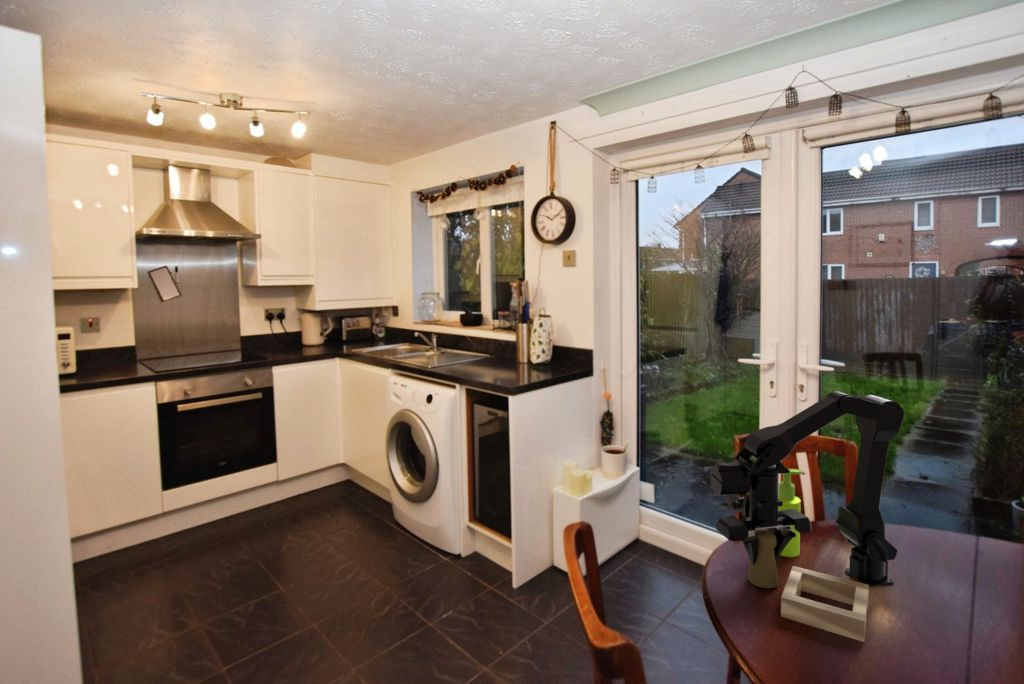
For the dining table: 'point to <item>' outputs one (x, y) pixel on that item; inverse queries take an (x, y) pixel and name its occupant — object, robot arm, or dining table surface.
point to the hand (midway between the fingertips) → (763, 562)
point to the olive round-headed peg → (764, 561)
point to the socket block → (824, 614)
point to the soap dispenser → (790, 503)
